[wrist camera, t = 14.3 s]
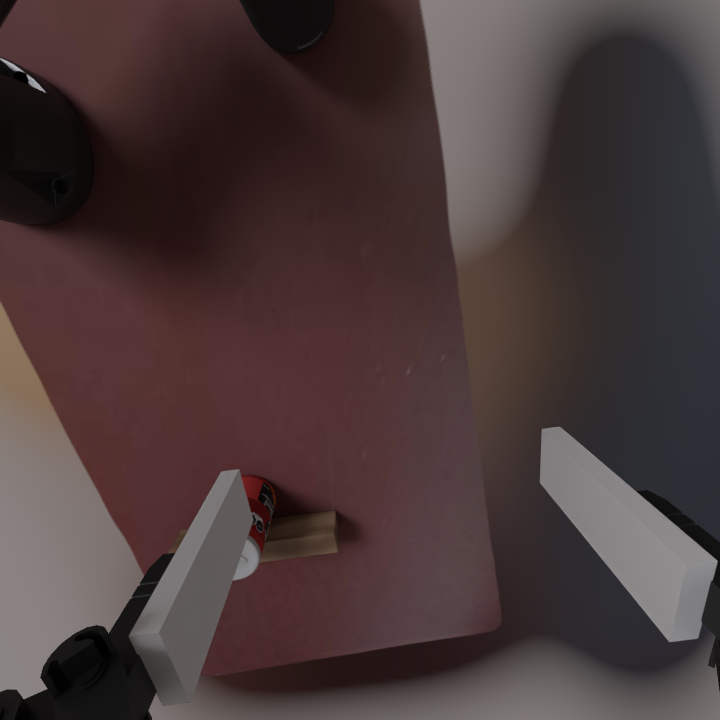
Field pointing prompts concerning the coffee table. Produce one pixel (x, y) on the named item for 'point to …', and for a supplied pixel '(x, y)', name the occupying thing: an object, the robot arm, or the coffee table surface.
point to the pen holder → (290, 21)
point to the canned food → (256, 523)
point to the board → (295, 536)
